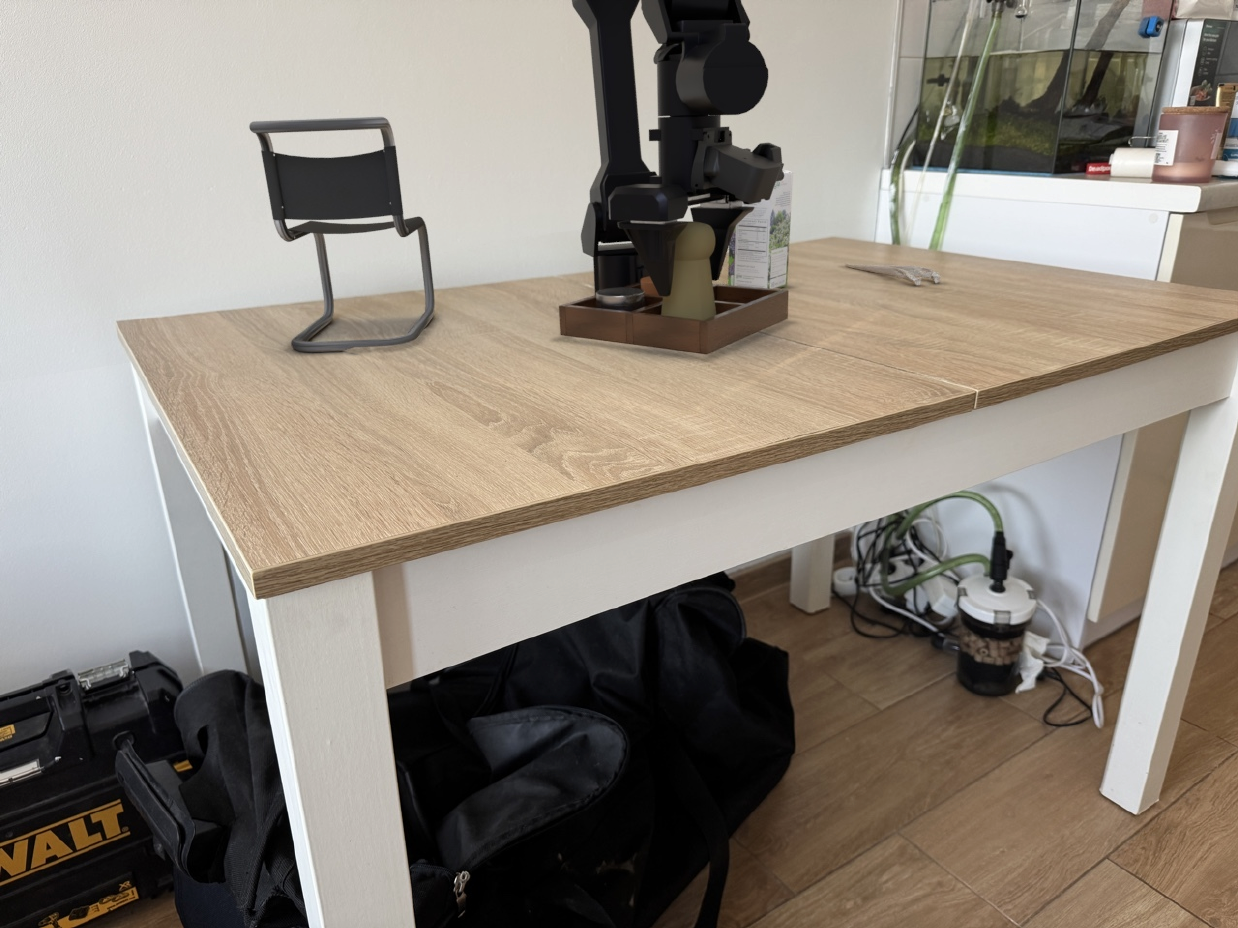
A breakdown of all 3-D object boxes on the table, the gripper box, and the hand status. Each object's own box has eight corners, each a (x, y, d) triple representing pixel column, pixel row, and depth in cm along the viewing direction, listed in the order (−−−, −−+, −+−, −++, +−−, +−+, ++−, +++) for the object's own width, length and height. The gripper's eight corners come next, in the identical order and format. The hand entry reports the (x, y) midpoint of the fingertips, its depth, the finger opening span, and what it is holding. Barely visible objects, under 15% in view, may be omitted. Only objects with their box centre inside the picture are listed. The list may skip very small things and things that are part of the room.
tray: (560, 339, 94) (558, 305, 93) (651, 308, 107) (651, 278, 106) (707, 359, 85) (707, 322, 83) (787, 322, 98) (788, 290, 97)
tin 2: (632, 317, 101) (631, 280, 99) (657, 308, 105) (656, 273, 103) (671, 321, 98) (670, 284, 97) (694, 312, 102) (694, 276, 100)
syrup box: (748, 283, 120) (750, 168, 115) (789, 286, 117) (793, 168, 112) (727, 290, 116) (728, 171, 111) (769, 294, 113) (772, 171, 108)
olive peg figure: (654, 331, 93) (652, 220, 89) (713, 328, 94) (713, 217, 90) (662, 344, 87) (660, 227, 84) (724, 341, 88) (725, 224, 84)
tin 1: (587, 332, 94) (586, 294, 93) (615, 323, 98) (614, 285, 97) (627, 337, 92) (626, 298, 90) (654, 327, 96) (653, 289, 94)
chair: (282, 355, 92) (242, 121, 84) (327, 319, 108) (297, 120, 100) (412, 349, 92) (384, 116, 84) (437, 314, 108) (416, 116, 100)
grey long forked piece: (943, 282, 116) (943, 266, 116) (913, 287, 115) (913, 270, 114) (859, 273, 132) (859, 258, 131) (831, 276, 130) (831, 262, 129)
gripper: (716, 116, 72) (715, 313, 77) (813, 111, 86) (806, 278, 91) (601, 120, 78) (608, 302, 83) (710, 115, 92) (709, 271, 97)
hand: (689, 288), depth 89 cm, fingers open, 9 cm apart
